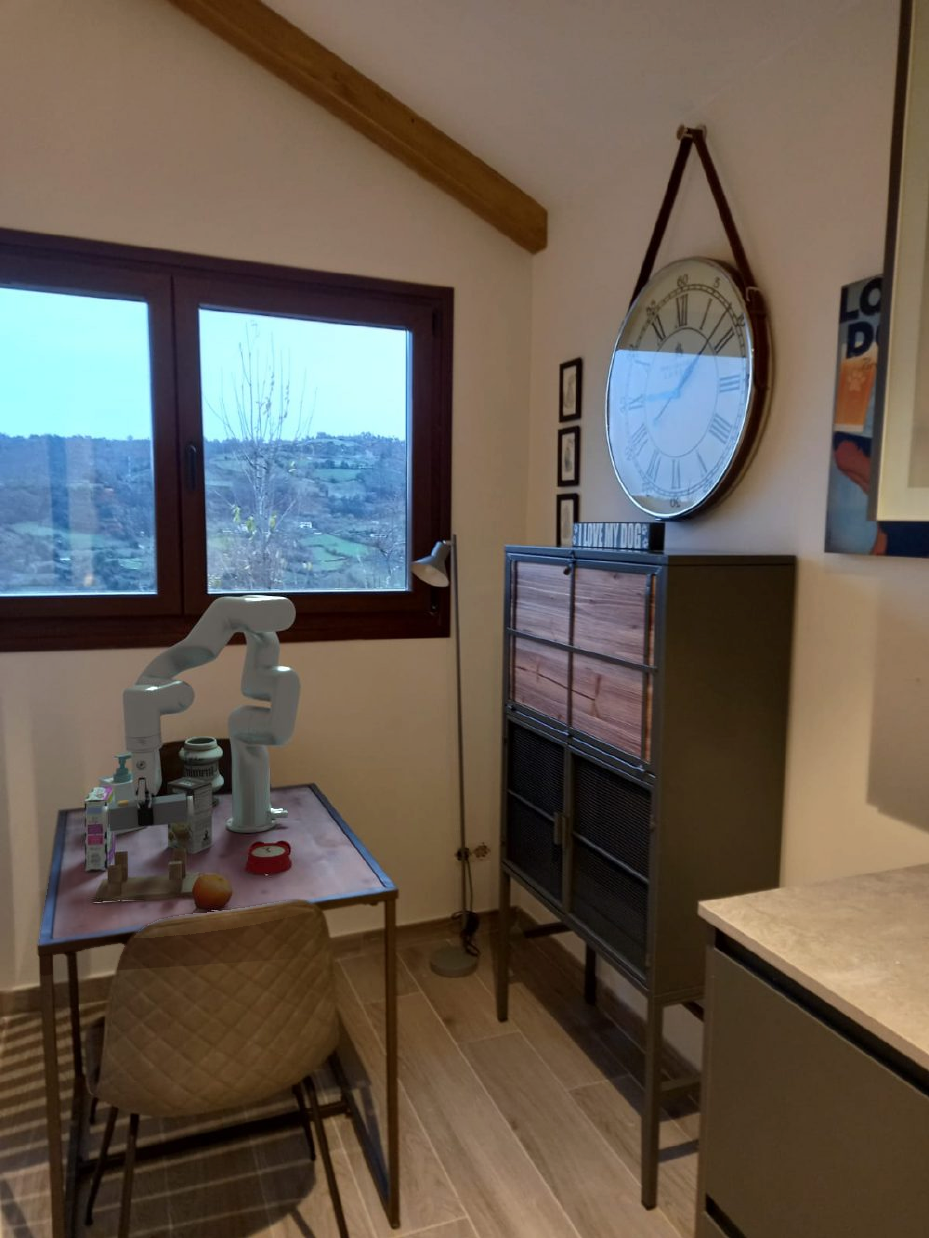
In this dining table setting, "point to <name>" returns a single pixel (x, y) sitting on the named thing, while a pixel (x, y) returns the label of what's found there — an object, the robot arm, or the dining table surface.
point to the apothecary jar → (202, 761)
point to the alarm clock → (268, 857)
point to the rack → (146, 881)
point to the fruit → (211, 892)
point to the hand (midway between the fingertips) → (148, 819)
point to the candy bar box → (98, 830)
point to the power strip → (163, 811)
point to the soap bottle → (121, 784)
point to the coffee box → (197, 828)
